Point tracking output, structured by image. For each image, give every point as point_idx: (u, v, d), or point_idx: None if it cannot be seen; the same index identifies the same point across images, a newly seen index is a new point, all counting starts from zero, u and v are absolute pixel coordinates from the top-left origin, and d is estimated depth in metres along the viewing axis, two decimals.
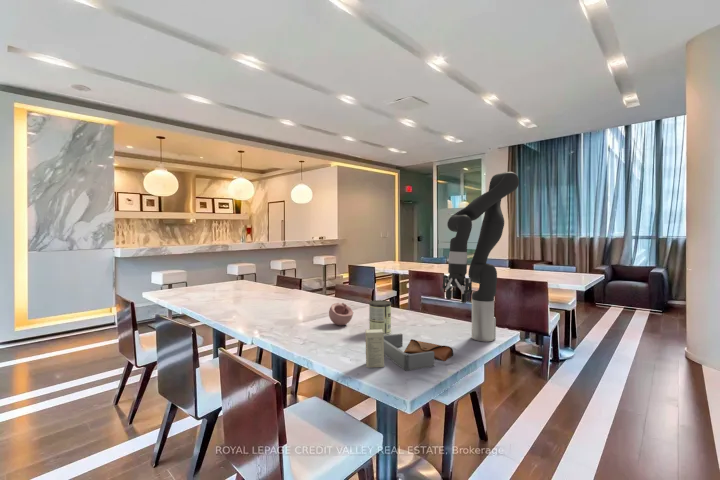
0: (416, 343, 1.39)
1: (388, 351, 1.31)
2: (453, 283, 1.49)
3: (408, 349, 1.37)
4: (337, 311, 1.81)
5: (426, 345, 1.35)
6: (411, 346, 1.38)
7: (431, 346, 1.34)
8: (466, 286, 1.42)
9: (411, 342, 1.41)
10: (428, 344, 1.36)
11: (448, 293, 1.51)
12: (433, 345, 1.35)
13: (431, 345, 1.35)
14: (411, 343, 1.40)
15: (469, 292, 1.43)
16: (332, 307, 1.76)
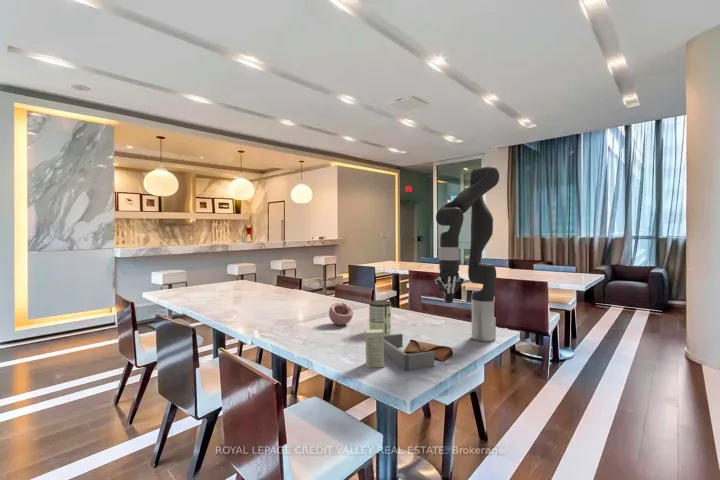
0: (415, 343, 1.39)
1: (388, 351, 1.31)
2: (451, 279, 1.38)
3: (407, 349, 1.36)
4: (337, 311, 1.81)
5: (425, 345, 1.35)
6: (410, 346, 1.38)
7: (430, 346, 1.34)
8: (459, 285, 1.39)
9: (411, 342, 1.40)
10: (427, 344, 1.35)
11: None
12: (432, 345, 1.34)
13: (430, 345, 1.34)
14: (410, 343, 1.40)
15: None
16: (332, 307, 1.76)
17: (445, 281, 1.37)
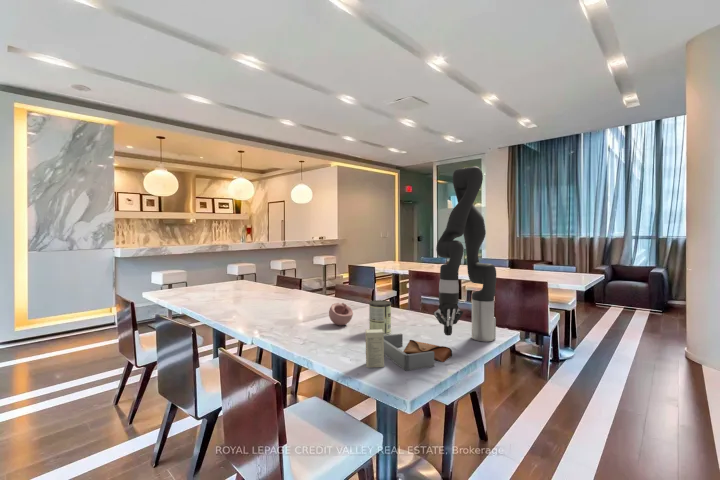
0: (415, 344, 1.38)
1: (388, 351, 1.31)
2: (450, 312, 1.38)
3: (407, 350, 1.36)
4: (337, 311, 1.81)
5: (425, 346, 1.35)
6: (410, 347, 1.37)
7: (429, 347, 1.33)
8: (458, 318, 1.39)
9: (410, 343, 1.40)
10: (427, 345, 1.35)
11: None
12: (432, 346, 1.34)
13: (430, 346, 1.34)
14: (410, 344, 1.39)
15: None
16: (332, 307, 1.76)
17: (444, 314, 1.37)
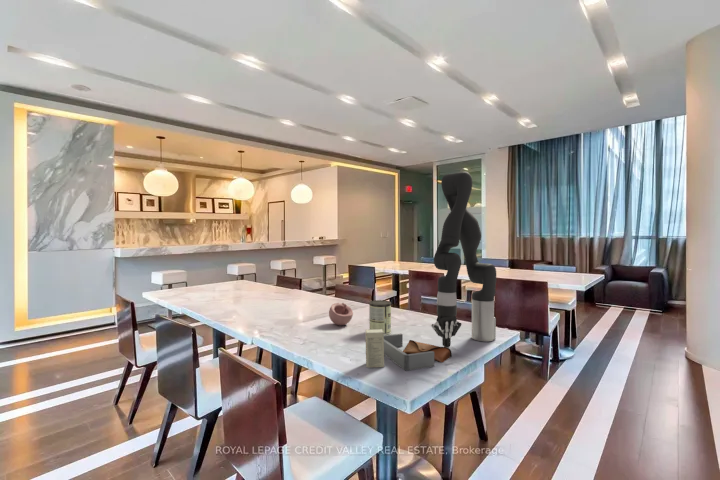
0: (414, 344, 1.38)
1: (388, 351, 1.31)
2: (448, 324, 1.37)
3: (406, 350, 1.36)
4: (337, 311, 1.81)
5: (424, 346, 1.34)
6: (409, 347, 1.37)
7: (429, 347, 1.33)
8: (456, 330, 1.39)
9: (409, 343, 1.40)
10: (426, 345, 1.35)
11: None
12: (431, 346, 1.33)
13: (429, 346, 1.34)
14: (409, 344, 1.39)
15: None
16: (332, 307, 1.76)
17: (443, 326, 1.37)
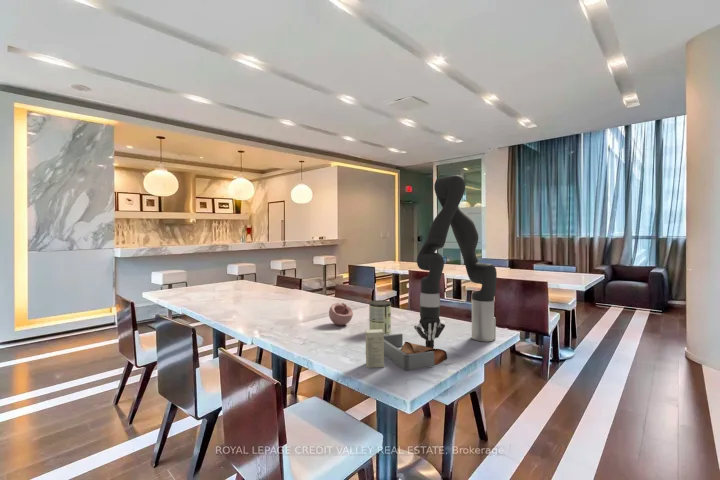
0: (410, 345, 1.36)
1: (388, 351, 1.31)
2: (431, 326, 1.35)
3: None
4: (337, 311, 1.81)
5: (419, 348, 1.32)
6: (404, 348, 1.35)
7: (424, 349, 1.31)
8: (440, 332, 1.36)
9: (405, 344, 1.38)
10: (421, 347, 1.33)
11: None
12: (426, 348, 1.31)
13: (424, 348, 1.31)
14: (405, 345, 1.37)
15: None
16: (332, 307, 1.76)
17: (426, 328, 1.34)
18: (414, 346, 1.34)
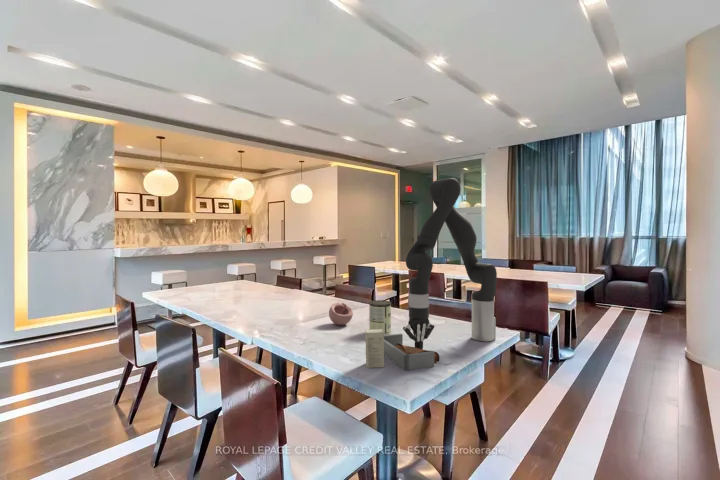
0: (401, 347, 1.33)
1: (388, 351, 1.31)
2: (420, 327, 1.33)
3: None
4: (337, 311, 1.81)
5: (411, 350, 1.30)
6: None
7: (416, 351, 1.29)
8: (429, 333, 1.34)
9: (397, 346, 1.35)
10: (413, 349, 1.30)
11: None
12: (418, 350, 1.29)
13: (416, 350, 1.29)
14: None
15: None
16: (332, 307, 1.76)
17: (414, 329, 1.32)
18: (406, 348, 1.31)
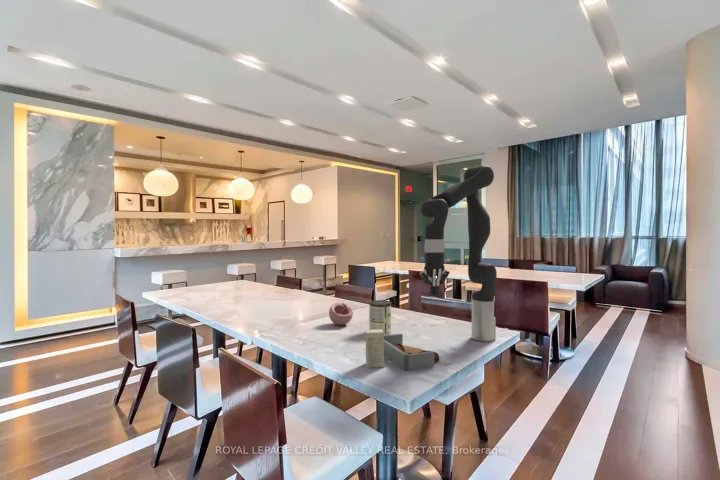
0: (401, 347, 1.34)
1: (388, 351, 1.31)
2: (436, 272, 1.36)
3: None
4: (337, 311, 1.81)
5: (411, 350, 1.30)
6: None
7: (415, 351, 1.29)
8: (444, 278, 1.37)
9: (397, 346, 1.35)
10: (413, 349, 1.30)
11: None
12: (418, 350, 1.29)
13: (416, 350, 1.29)
14: None
15: None
16: (332, 307, 1.76)
17: (430, 274, 1.35)
18: (406, 348, 1.31)
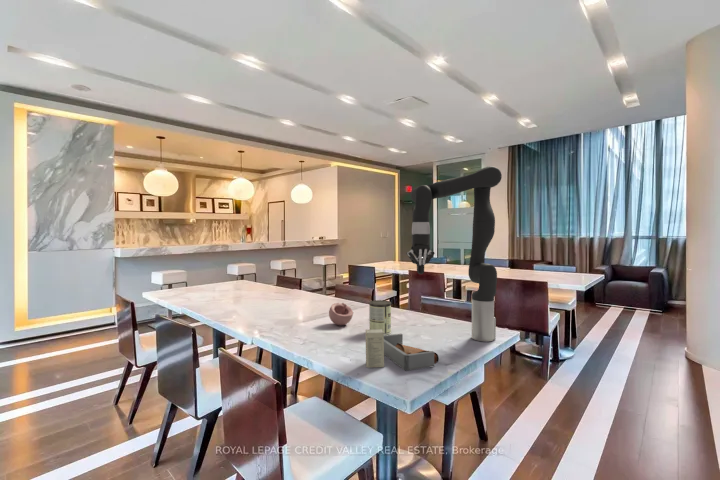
0: (401, 347, 1.34)
1: (388, 351, 1.31)
2: (422, 252, 1.49)
3: None
4: (337, 311, 1.81)
5: (410, 350, 1.30)
6: None
7: (415, 351, 1.29)
8: (429, 258, 1.50)
9: (397, 346, 1.35)
10: (413, 349, 1.30)
11: None
12: (417, 350, 1.29)
13: (415, 350, 1.29)
14: None
15: None
16: (332, 307, 1.76)
17: (417, 253, 1.48)
18: (405, 348, 1.31)
